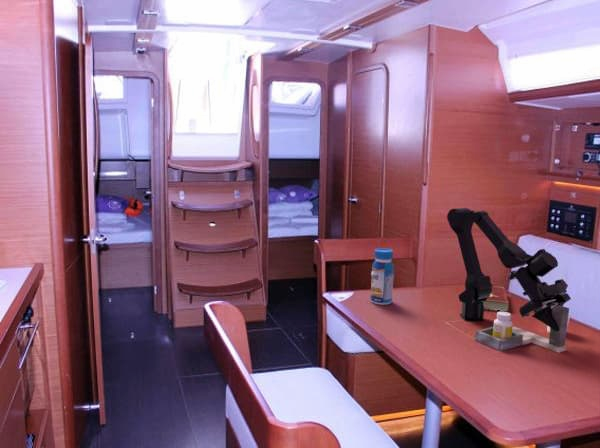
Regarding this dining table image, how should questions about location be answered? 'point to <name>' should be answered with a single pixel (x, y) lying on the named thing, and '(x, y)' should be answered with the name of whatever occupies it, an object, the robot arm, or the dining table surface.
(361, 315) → the dining table surface
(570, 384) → the dining table surface
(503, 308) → the hardcover book
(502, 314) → the supplement bottle
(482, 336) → the tray with upright post
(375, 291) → the beverage bottle
